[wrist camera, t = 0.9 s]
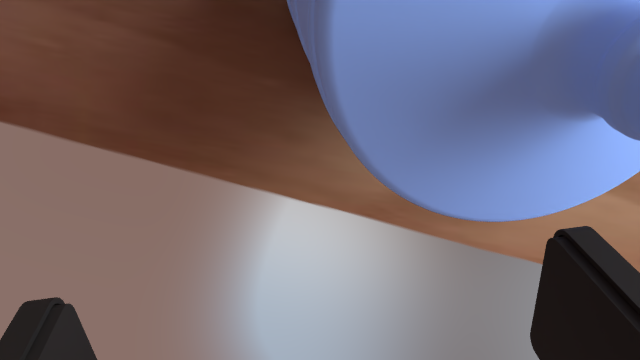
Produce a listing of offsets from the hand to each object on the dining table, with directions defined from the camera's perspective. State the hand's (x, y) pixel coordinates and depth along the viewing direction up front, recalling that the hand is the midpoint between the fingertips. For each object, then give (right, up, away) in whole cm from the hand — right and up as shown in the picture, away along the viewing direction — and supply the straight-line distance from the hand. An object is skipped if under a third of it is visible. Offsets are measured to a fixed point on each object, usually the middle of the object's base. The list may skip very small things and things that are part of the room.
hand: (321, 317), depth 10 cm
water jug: (+5, +17, +25) cm, 31 cm away
